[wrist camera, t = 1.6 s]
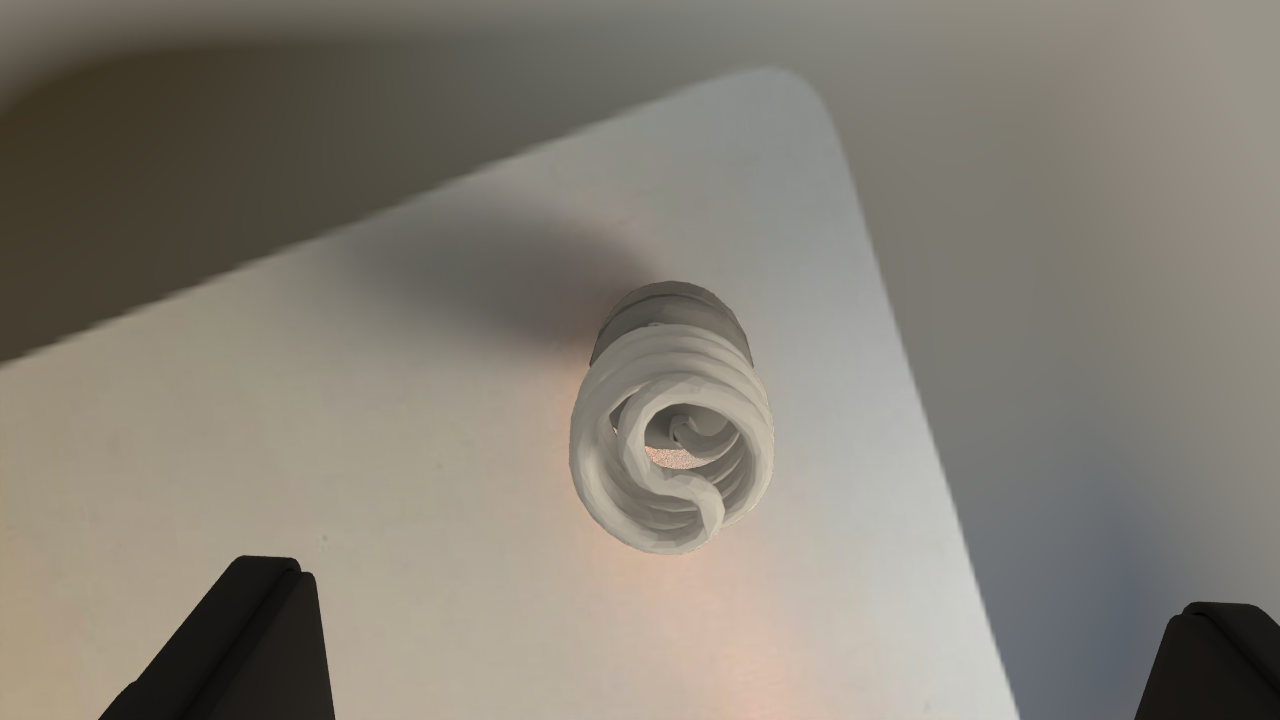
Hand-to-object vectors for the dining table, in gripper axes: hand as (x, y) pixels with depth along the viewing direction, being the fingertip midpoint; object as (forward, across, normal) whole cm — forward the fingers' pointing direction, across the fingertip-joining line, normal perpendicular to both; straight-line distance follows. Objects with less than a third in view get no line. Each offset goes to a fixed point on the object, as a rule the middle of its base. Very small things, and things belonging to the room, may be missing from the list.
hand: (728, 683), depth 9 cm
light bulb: (+22, 0, +4) cm, 23 cm away
